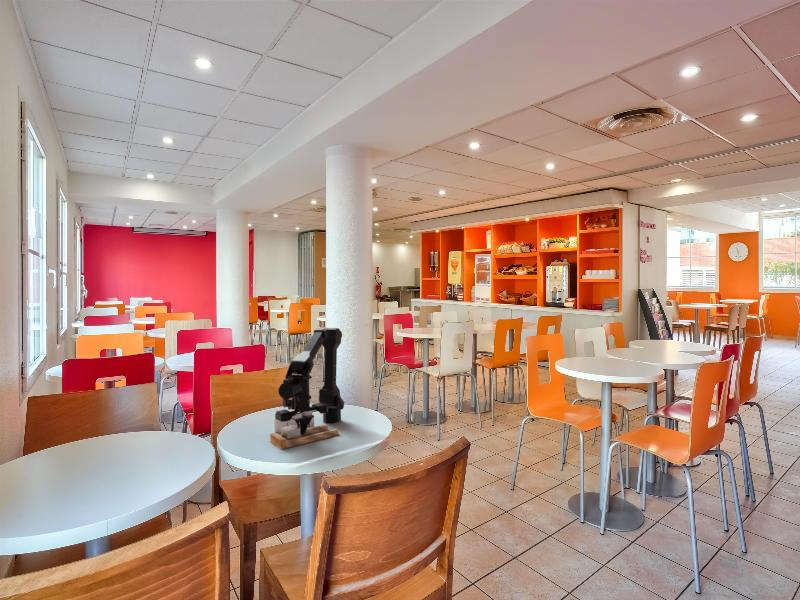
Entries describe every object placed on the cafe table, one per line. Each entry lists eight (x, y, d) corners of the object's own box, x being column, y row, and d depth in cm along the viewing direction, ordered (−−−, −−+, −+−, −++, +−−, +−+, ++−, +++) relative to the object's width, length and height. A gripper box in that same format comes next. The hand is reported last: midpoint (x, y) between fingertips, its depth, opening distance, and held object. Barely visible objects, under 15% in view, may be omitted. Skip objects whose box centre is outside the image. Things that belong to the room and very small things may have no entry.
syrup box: (274, 434, 176) (312, 433, 177) (274, 419, 176) (311, 418, 177) (278, 429, 182) (314, 428, 183) (277, 414, 182) (314, 414, 182)
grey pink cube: (294, 438, 168) (294, 425, 168) (300, 441, 165) (300, 428, 164) (281, 441, 165) (281, 427, 165) (287, 445, 161) (287, 431, 161)
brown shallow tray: (324, 430, 180) (324, 420, 180) (340, 437, 171) (340, 427, 171) (269, 443, 166) (268, 433, 166) (282, 452, 157) (282, 441, 157)
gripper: (314, 385, 179) (314, 424, 180) (268, 393, 168) (269, 435, 168) (328, 390, 171) (329, 431, 171) (281, 398, 159) (282, 442, 159)
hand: (302, 434), depth 168 cm, fingers closed
